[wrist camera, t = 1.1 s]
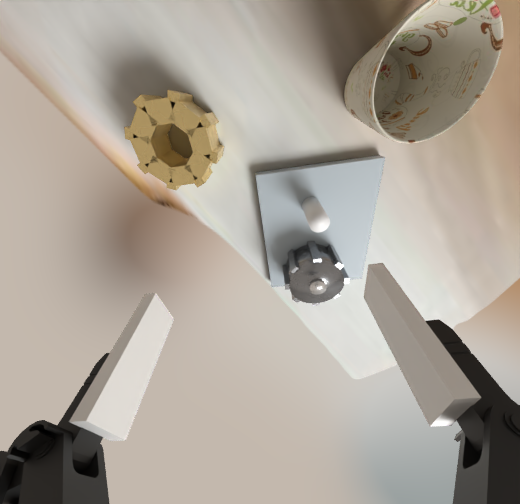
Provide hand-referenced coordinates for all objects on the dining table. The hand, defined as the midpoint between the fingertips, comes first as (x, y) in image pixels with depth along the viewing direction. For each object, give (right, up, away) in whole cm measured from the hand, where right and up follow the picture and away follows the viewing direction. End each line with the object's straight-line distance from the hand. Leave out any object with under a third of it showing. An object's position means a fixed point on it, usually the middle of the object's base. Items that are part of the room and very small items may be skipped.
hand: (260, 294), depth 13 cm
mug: (+13, +22, +9) cm, 27 cm away
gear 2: (+8, +1, +22) cm, 23 cm away
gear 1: (-9, +17, +13) cm, 23 cm away
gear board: (+9, +6, +20) cm, 23 cm away
